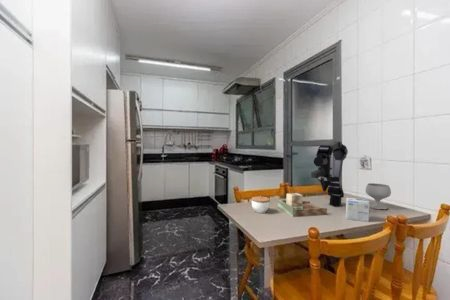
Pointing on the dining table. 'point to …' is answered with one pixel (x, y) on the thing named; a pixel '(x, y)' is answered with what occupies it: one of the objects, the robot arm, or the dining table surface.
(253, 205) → the lidded jar
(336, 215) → the dining table surface
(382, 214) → the dining table surface
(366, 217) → the light bulb box
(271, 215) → the dining table surface
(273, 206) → the dining table surface
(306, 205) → the trap board
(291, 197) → the oak block
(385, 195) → the chalice
